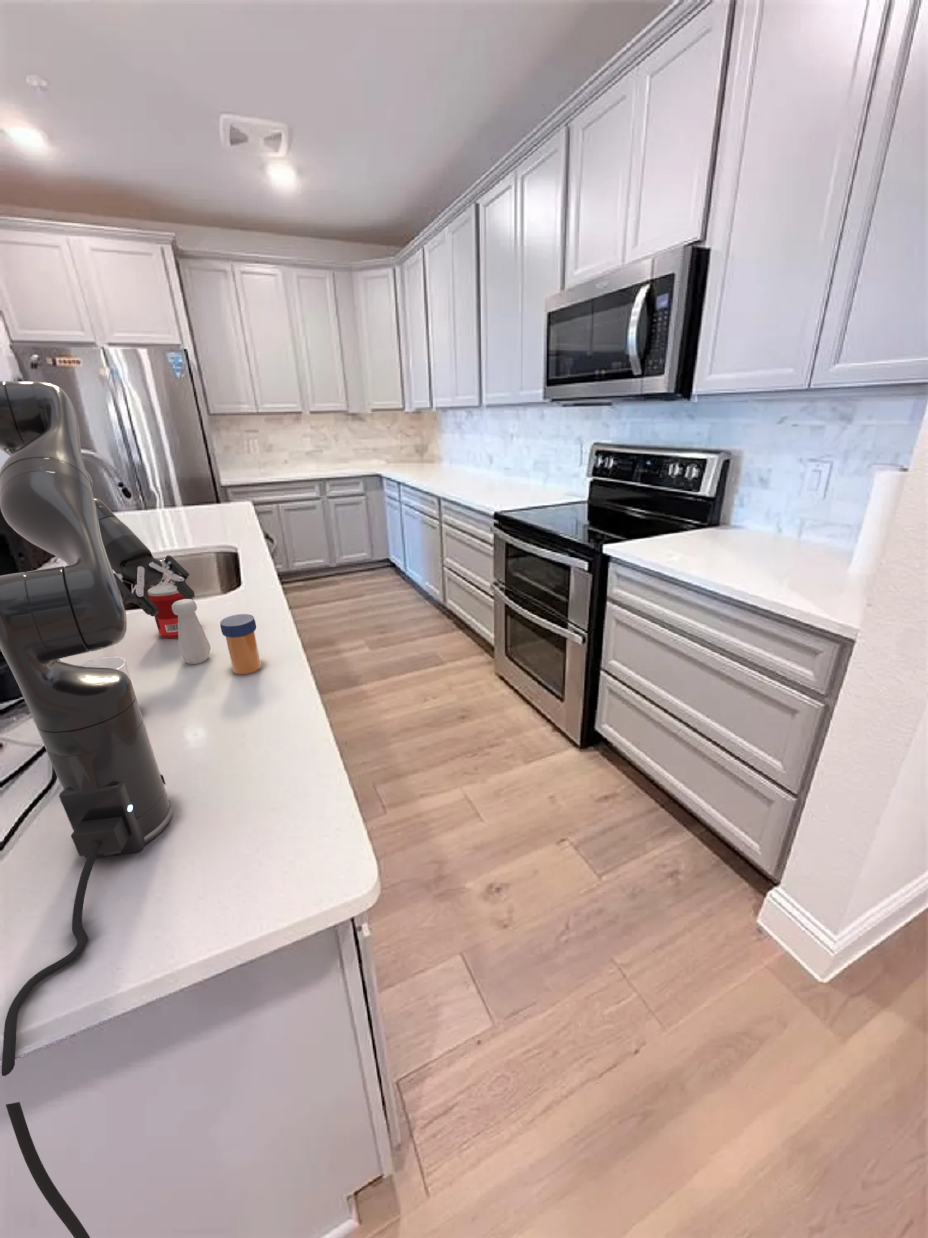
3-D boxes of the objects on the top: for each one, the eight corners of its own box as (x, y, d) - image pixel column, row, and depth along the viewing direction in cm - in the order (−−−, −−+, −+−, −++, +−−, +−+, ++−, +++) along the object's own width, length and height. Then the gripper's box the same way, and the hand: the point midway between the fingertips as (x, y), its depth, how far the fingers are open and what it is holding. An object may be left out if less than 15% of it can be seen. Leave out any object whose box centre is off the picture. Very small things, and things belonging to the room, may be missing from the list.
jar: (258, 673, 99) (248, 626, 95) (230, 675, 98) (219, 628, 95) (263, 661, 104) (254, 616, 100) (236, 663, 103) (227, 618, 99)
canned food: (204, 629, 120) (194, 585, 115) (171, 641, 113) (159, 595, 109) (186, 622, 123) (175, 579, 119) (153, 634, 117) (140, 589, 113)
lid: (252, 636, 96) (250, 624, 95) (218, 638, 95) (215, 627, 94) (259, 623, 101) (257, 612, 100) (227, 626, 100) (224, 615, 99)
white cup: (134, 702, 90) (118, 651, 86) (147, 719, 85) (131, 667, 81) (81, 720, 85) (62, 668, 81) (91, 740, 80) (71, 685, 76)
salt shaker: (200, 667, 102) (185, 607, 97) (175, 665, 103) (159, 605, 98) (218, 654, 107) (205, 596, 102) (194, 652, 108) (180, 595, 103)
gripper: (87, 542, 93) (149, 608, 94) (155, 525, 105) (209, 583, 106) (77, 567, 97) (136, 630, 98) (144, 548, 109) (196, 604, 110)
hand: (174, 605), depth 102 cm, fingers open, 8 cm apart
